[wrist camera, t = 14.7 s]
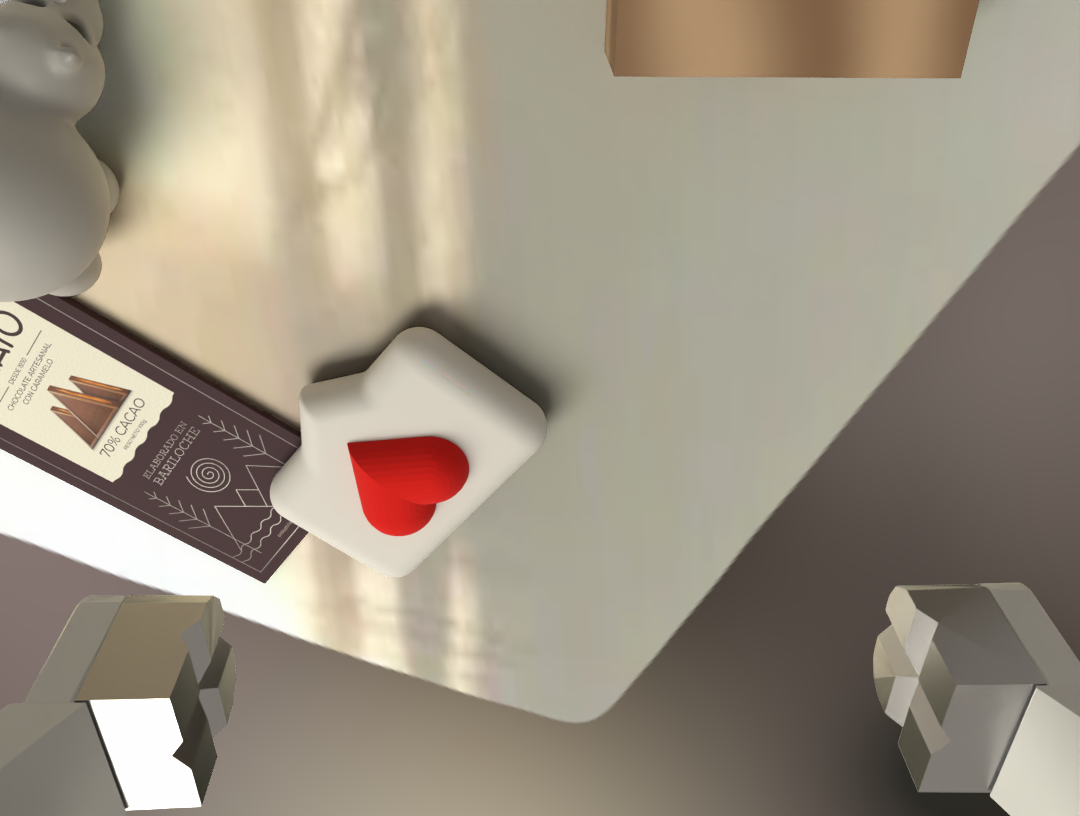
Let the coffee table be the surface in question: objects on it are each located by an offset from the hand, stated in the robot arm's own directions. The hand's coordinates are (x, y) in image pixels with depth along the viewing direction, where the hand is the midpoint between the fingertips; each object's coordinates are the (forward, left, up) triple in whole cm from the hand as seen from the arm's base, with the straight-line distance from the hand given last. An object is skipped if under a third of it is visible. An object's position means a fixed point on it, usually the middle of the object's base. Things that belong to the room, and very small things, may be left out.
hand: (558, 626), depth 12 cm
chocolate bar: (-18, -16, -30) cm, 38 cm away
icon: (-6, -17, -30) cm, 34 cm away
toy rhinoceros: (-18, -2, -29) cm, 34 cm away
